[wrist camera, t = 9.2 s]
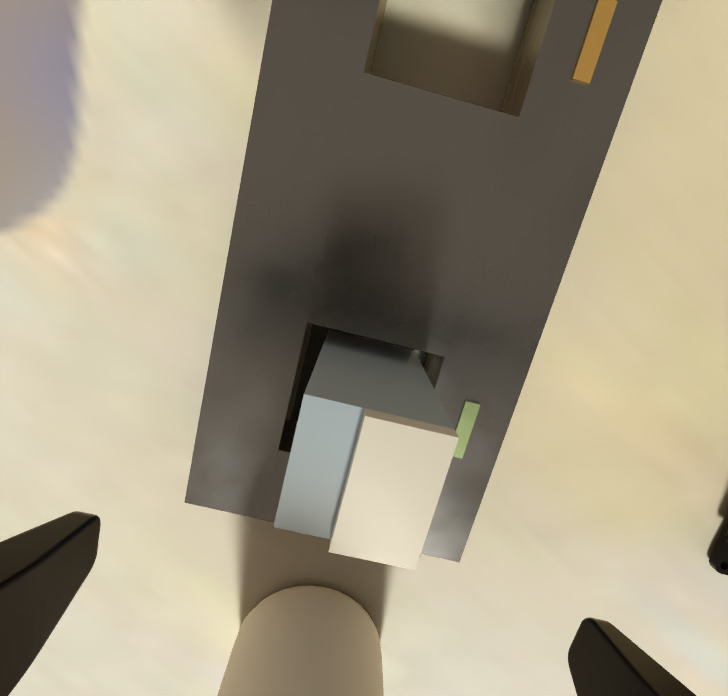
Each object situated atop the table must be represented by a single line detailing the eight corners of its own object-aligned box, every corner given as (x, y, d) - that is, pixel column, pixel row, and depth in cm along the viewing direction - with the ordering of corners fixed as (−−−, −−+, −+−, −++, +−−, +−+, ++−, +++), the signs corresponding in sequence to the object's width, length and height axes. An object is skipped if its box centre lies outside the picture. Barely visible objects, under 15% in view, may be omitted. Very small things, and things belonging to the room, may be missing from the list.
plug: (414, 350, 19) (459, 437, 10) (391, 429, 20) (415, 570, 11) (328, 329, 19) (300, 401, 10) (310, 410, 20) (269, 539, 11)
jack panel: (653, -89, 15) (725, -171, 12) (445, 518, 21) (459, 563, 18) (333, -195, 15) (325, -309, 12) (210, 465, 20) (183, 503, 17)
